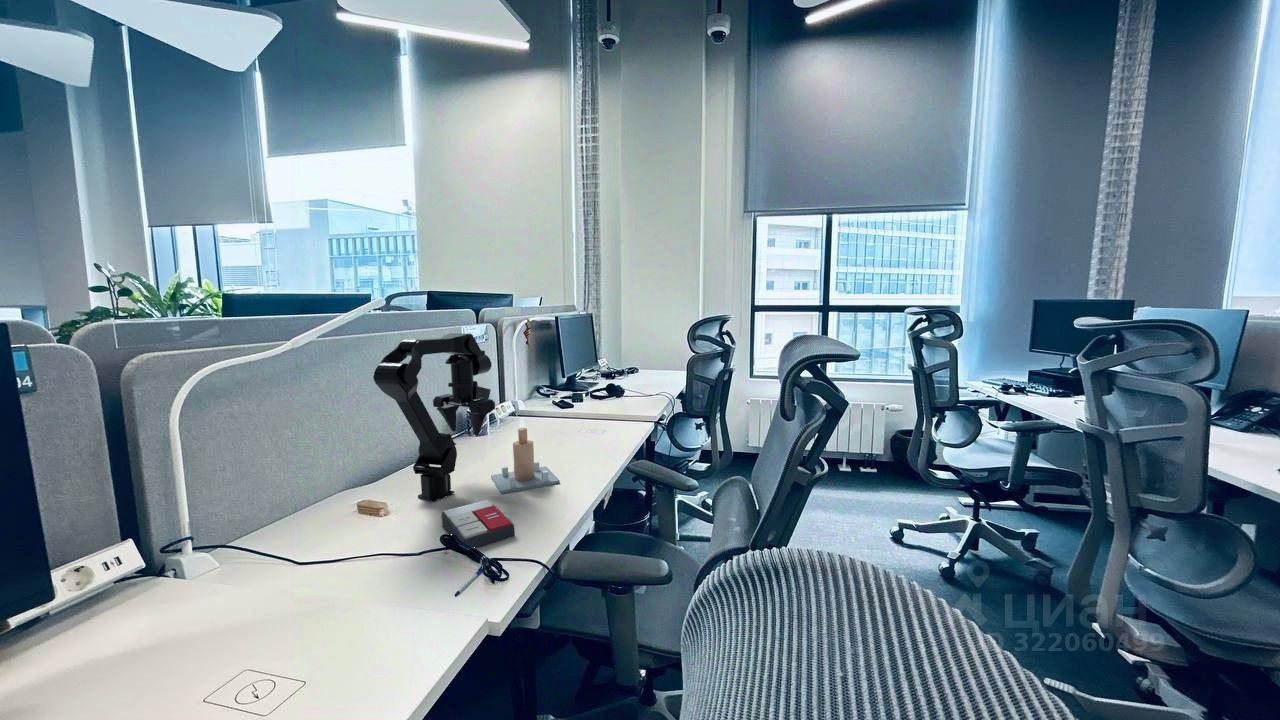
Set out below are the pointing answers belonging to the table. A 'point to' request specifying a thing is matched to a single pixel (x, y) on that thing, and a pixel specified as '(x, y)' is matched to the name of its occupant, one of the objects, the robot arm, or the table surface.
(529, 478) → the tan bottle
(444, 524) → the calculator
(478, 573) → the ballpoint pen
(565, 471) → the table surface
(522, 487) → the plate
